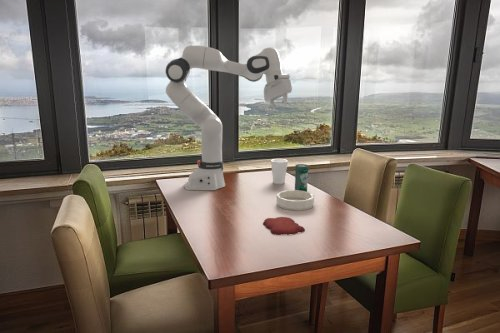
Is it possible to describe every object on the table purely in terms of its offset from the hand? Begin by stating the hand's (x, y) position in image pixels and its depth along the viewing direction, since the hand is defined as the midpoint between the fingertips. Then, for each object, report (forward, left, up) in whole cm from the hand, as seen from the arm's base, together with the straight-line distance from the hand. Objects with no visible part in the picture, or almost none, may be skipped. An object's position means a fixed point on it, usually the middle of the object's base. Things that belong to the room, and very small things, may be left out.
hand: (279, 106), depth 192 cm
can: (+10, -10, -44) cm, 47 cm away
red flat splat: (-11, -51, -45) cm, 69 cm away
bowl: (+2, -26, -44) cm, 51 cm away
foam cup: (+4, +12, -45) cm, 46 cm away
